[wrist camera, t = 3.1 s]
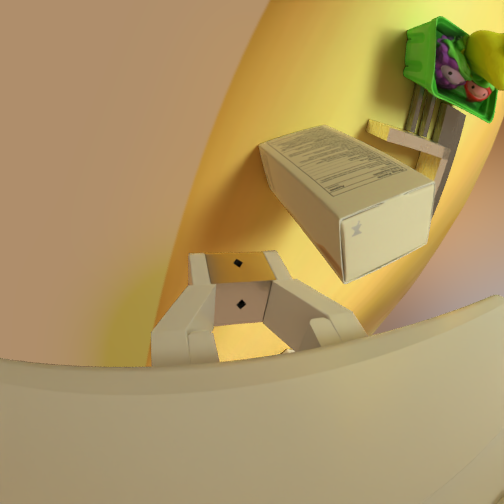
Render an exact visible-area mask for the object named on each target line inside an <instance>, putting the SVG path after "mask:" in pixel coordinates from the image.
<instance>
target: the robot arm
mask: <svg viewBox="0 0 504 504" xmlns="http://www.w3.org/2000/svg"><path fill="white" fill-rule="evenodd" d="M188 285H189V286H187V287H186V289H185V290H184V291H183V292H182V294H181V295H180V296H179V297H178V299H177V300H176V301H175V302H174V304H173V305H172V306H171V308H170V309H169V310H168V311H167V313H166V314H165V315H164V316H163V318H162V319H161V320H160V322H159V323H158V324H157V325H156V327H155V328H154V329H153V331H152V332H151V357H152V367H89V366H68V365H55V364H42V363H33V362H25V361H16V360H9V359H3V358H0V504H504V297H502V296H499V295H493V296H490V297H488V298H485V299H483V300H480V301H478V302H476V303H473V304H470V305H468V306H465V307H462V308H460V309H457V310H454V311H452V312H448V313H445V314H443V315H440V316H437V317H434V318H431V319H427V320H424V321H421V322H418V323H415V324H412V325H408V326H405V327H401V328H398V329H394V330H391V331H387V332H383V333H379V334H376V335H372V336H368V335H367V334H366V332H365V331H364V329H363V327H362V326H361V324H360V323H359V321H358V320H357V318H356V317H355V315H354V314H353V312H352V311H350V310H349V309H347V308H345V307H343V306H342V305H340V304H338V303H337V302H335V301H333V300H332V299H330V298H328V297H326V296H325V295H323V294H321V293H320V292H318V291H316V290H315V289H313V288H311V287H309V286H308V285H306V284H304V283H303V282H301V281H299V280H298V279H292V277H291V275H290V274H289V272H288V270H287V268H286V266H285V265H284V263H283V261H282V259H281V258H280V256H279V254H278V252H277V251H275V250H272V251H261V252H242V253H189V256H188ZM255 322H263V324H265V325H266V326H267V327H268V328H269V329H270V330H271V331H272V332H274V333H275V334H276V335H277V336H278V337H279V338H280V339H281V340H283V341H284V342H285V343H286V344H287V345H288V346H289V347H291V348H292V349H293V350H294V351H295V352H291V353H285V354H279V355H272V356H265V357H258V358H251V359H243V360H234V361H225V362H219V357H218V353H217V348H216V344H215V340H214V335H213V333H211V332H212V330H213V328H214V326H222V325H231V324H241V323H255Z"/></svg>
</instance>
